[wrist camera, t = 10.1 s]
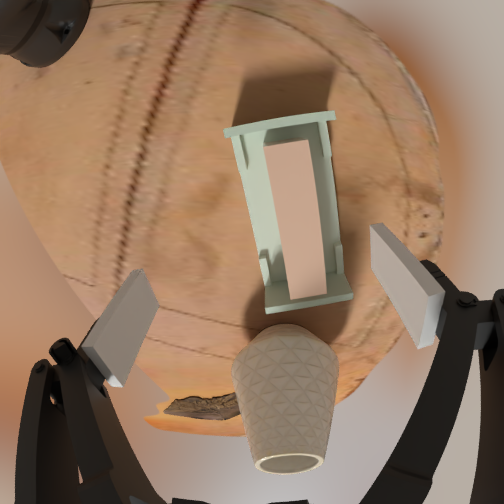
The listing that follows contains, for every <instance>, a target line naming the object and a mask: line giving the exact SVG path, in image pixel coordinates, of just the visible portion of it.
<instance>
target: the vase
mask: <svg viewBox="0 0 504 504" xmlns="http://www.w3.org/2000/svg"><path fill="white" fill-rule="evenodd" d="M338 375H339V361H338V358H337V355H336V354H335V352H334V350H333V349H332V348H331V347H330V346H329V345H327V344H326V343H325V342H323V341H322V340H321V339H319V338H318V337H316V336H315V335H314V334H312V333H311V332H309V331H308V330H307V329H305V328H303V327H301V326H298V325H294V324H278V325H274V326H271V327H268V328H266V329H264V330H263V331H261V332H260V333H259V334H258V335H257V336H256V337H255V338H254V339H253V340H252V341H251V342H250V343H249V344H248V345H246V346H245V347H244V348H243V349H242V350H241V351H240V352H239V353H238V355H237V356H236V358H235V359H234V362H233V364H232V368H231V376H232V381H233V385H234V389H235V393H236V397H237V402H238V405H239V409H240V413H241V417H242V421H243V425H244V429H245V432H246V436H247V440H248V443H249V447H250V451H251V454H252V458H253V461H254V465H255V467H256V468H257V469H258V470H260V471H262V472H266V473H270V474H297V473H303V472H307V471H310V470H313V469H315V468H317V467H319V466H320V465H321V464H323V462H324V459H325V454H326V449H327V444H328V439H329V434H330V429H331V423H332V417H333V411H334V404H335V398H336V391H337V383H338Z"/></svg>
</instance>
